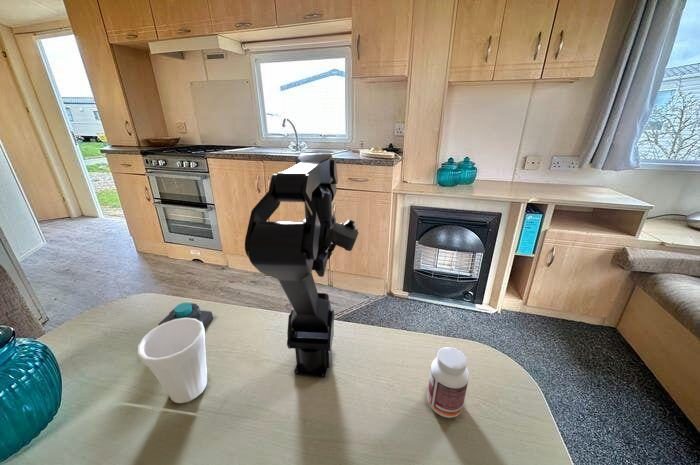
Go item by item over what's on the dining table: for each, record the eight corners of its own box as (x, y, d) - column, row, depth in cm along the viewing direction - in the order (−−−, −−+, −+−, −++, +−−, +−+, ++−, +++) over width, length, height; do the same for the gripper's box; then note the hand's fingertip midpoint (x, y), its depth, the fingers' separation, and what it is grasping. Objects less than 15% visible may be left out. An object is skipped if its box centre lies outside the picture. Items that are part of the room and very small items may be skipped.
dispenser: (159, 331, 66) (155, 318, 65) (178, 313, 72) (174, 301, 71) (198, 336, 65) (194, 322, 64) (214, 317, 71) (210, 305, 70)
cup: (229, 374, 56) (216, 324, 50) (187, 423, 47) (167, 368, 42) (190, 361, 59) (175, 312, 53) (145, 404, 50) (121, 351, 45)
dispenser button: (172, 317, 66) (170, 311, 65) (182, 307, 69) (181, 301, 69) (186, 318, 66) (184, 312, 65) (195, 308, 69) (194, 303, 68)
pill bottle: (469, 407, 50) (480, 362, 45) (446, 426, 47) (455, 380, 42) (442, 381, 54) (449, 338, 50) (419, 397, 51) (425, 353, 47)
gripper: (347, 234, 49) (347, 304, 56) (361, 202, 66) (360, 259, 73) (288, 229, 51) (295, 298, 58) (316, 200, 68) (319, 256, 74)
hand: (321, 275), depth 65 cm, fingers closed
